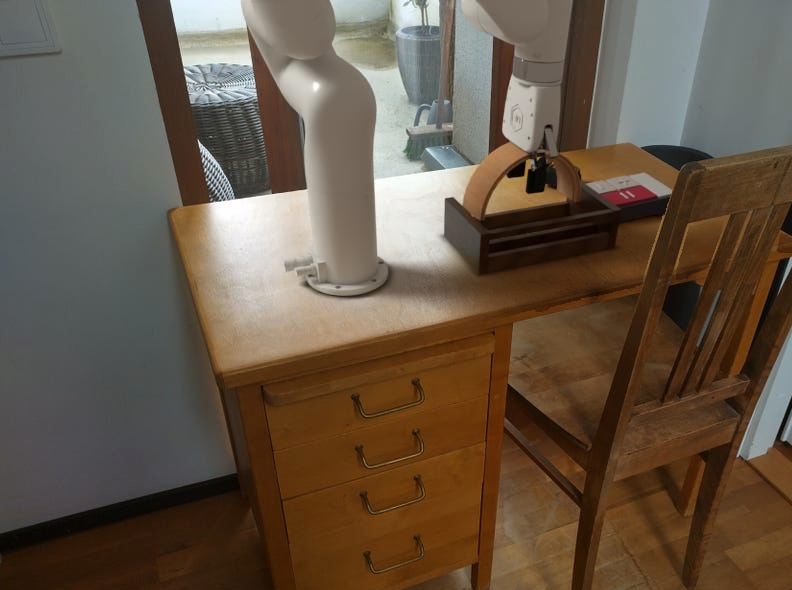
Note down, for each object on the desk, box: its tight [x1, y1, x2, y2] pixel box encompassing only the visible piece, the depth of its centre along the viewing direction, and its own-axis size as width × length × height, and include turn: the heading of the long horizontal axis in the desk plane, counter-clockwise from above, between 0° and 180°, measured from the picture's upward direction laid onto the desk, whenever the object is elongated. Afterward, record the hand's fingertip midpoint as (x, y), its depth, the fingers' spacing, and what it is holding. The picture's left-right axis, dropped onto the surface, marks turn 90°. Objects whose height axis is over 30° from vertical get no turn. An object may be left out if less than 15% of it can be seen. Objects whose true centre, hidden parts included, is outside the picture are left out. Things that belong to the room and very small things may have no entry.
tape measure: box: [545, 163, 582, 190], centre depth 140 cm, size 7×7×4 cm
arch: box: [462, 142, 581, 221], centre depth 116 cm, size 6×20×10 cm, turn 119°
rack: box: [443, 179, 621, 275], centre depth 120 cm, size 26×14×7 cm, turn 114°
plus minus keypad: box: [585, 172, 673, 223], centre depth 133 cm, size 11×4×15 cm
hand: (524, 183), depth 117 cm, fingers closed on arch, 5 cm apart
